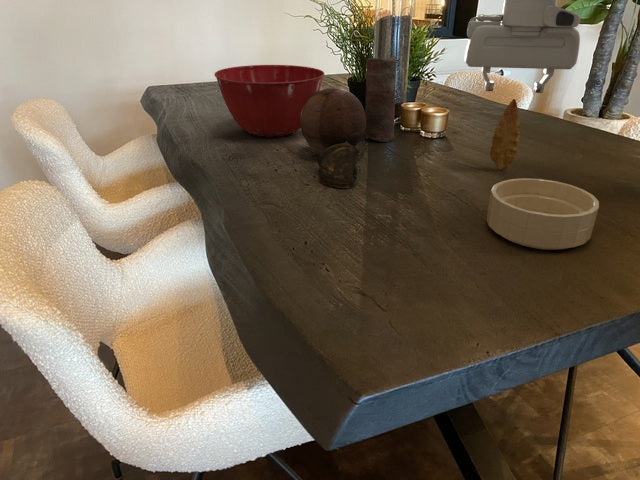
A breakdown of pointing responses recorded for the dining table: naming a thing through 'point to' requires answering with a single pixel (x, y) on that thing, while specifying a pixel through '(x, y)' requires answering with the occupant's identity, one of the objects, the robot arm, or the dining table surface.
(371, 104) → the candle
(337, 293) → the dining table surface
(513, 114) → the stone tool
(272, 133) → the mixing bowl
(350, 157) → the seashell
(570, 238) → the bowl
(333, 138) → the wooden sphere
